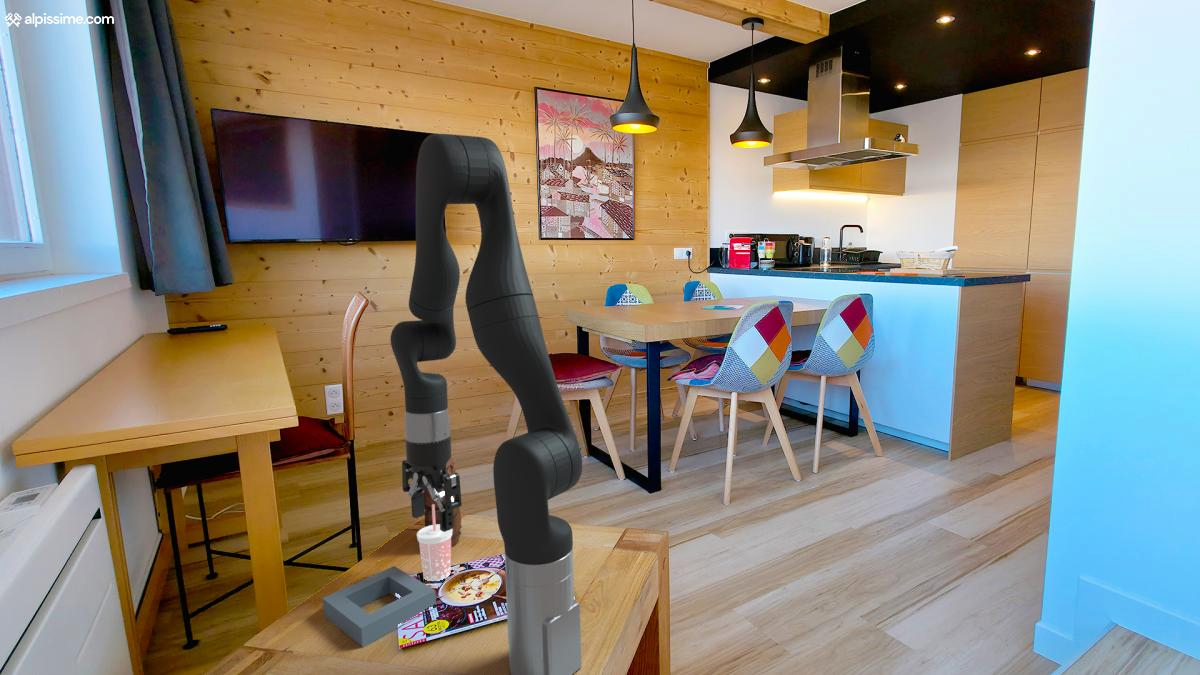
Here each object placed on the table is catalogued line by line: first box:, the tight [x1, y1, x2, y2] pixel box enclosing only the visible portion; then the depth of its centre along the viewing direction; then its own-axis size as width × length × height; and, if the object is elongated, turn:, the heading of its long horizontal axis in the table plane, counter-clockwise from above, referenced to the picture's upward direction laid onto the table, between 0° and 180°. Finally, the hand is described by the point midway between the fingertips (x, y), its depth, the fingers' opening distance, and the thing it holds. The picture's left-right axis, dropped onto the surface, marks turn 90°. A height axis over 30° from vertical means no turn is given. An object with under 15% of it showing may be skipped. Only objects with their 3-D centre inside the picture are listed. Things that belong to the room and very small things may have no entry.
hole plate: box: [321, 565, 437, 648], centre depth 92 cm, size 13×13×3 cm
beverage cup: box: [416, 504, 453, 581], centre depth 101 cm, size 6×6×14 cm
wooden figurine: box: [421, 456, 463, 548], centre depth 116 cm, size 12×6×18 cm, turn 3°
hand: (432, 522), depth 101 cm, fingers open, 8 cm apart
